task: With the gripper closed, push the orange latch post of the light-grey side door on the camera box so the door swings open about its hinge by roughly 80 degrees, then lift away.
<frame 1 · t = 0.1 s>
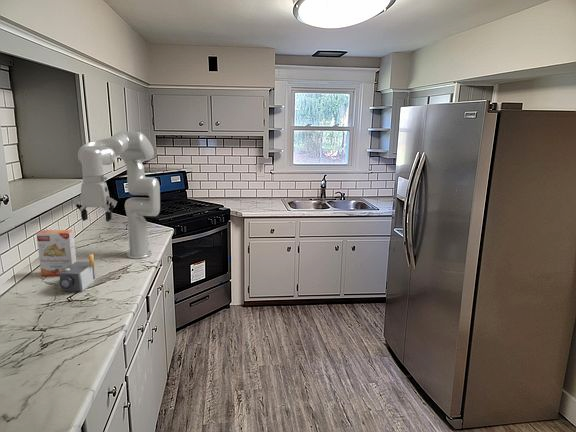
hand: (96, 220, 167), 31 cm above the countertop, fingers open, 9 cm apart
cracker box: (59, 274, 190), on the countertop
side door: (87, 272, 175), point 7 cm above the countertop, hinge at 0.0°
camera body: (78, 284, 179), on the countertop
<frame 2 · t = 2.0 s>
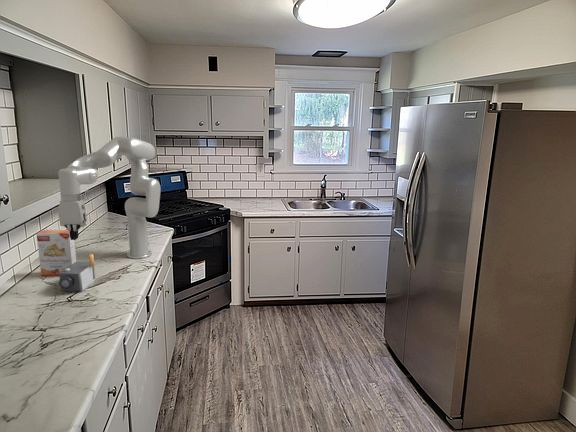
hand: (74, 239, 176), 21 cm above the countertop, fingers closed
nothing on the countertop moved.
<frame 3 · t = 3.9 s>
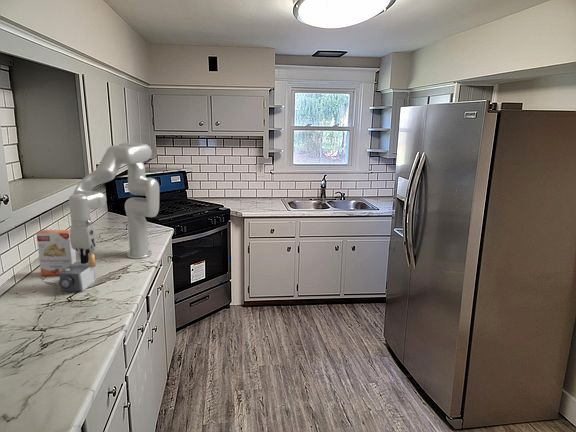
hand: (85, 262, 179), 10 cm above the countertop, fingers closed
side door: (87, 272, 175), point 7 cm above the countertop, hinge at 3.3°, touching gripper
everything else where it was.
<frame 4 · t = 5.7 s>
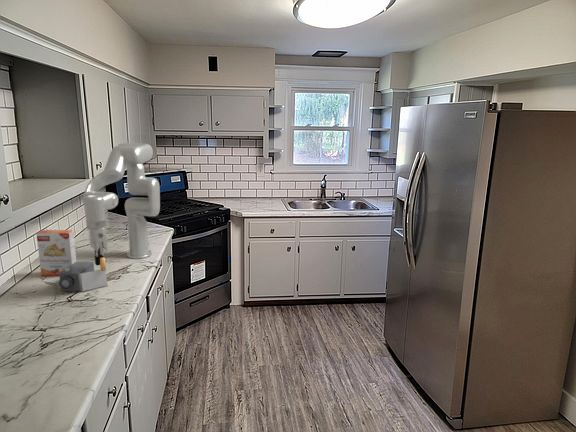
hand: (99, 264, 177), 10 cm above the countertop, fingers closed
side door: (92, 274, 173), point 7 cm above the countertop, hinge at 49.1°, touching gripper
everything else where it was.
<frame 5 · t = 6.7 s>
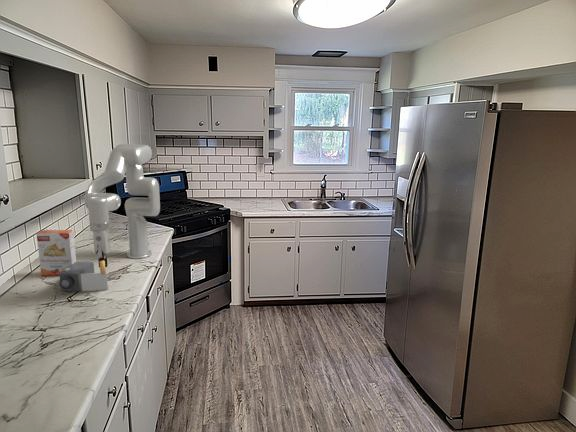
hand: (103, 266, 175), 10 cm above the countertop, fingers closed
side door: (92, 276, 171), point 7 cm above the countertop, hinge at 74.0°, touching gripper
everything else where it was.
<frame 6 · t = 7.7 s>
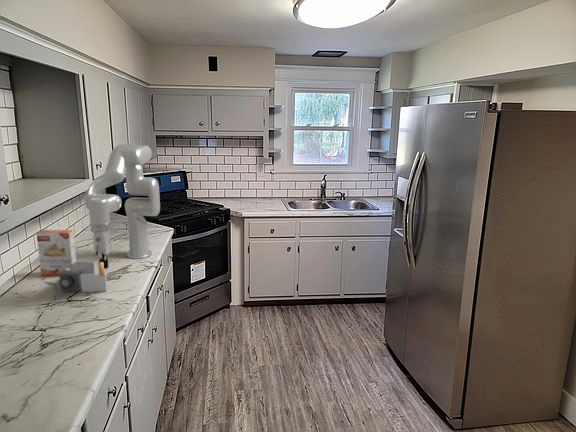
hand: (104, 268, 174), 10 cm above the countertop, fingers closed
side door: (91, 277, 170), point 7 cm above the countertop, hinge at 84.2°
everything else where it was.
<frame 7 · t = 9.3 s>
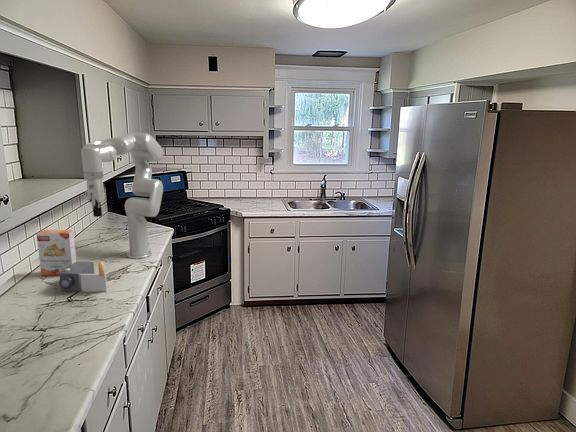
hand: (98, 216, 180), 30 cm above the countertop, fingers closed
nothing on the countertop moved.
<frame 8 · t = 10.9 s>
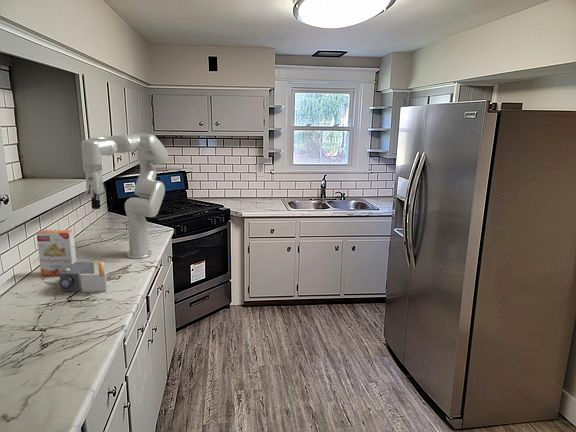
hand: (96, 208, 183), 32 cm above the countertop, fingers closed
nothing on the countertop moved.
at the end: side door at +84° (first picture: +0°) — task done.
